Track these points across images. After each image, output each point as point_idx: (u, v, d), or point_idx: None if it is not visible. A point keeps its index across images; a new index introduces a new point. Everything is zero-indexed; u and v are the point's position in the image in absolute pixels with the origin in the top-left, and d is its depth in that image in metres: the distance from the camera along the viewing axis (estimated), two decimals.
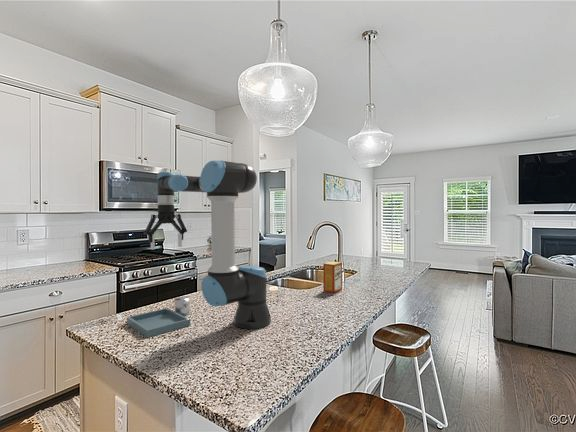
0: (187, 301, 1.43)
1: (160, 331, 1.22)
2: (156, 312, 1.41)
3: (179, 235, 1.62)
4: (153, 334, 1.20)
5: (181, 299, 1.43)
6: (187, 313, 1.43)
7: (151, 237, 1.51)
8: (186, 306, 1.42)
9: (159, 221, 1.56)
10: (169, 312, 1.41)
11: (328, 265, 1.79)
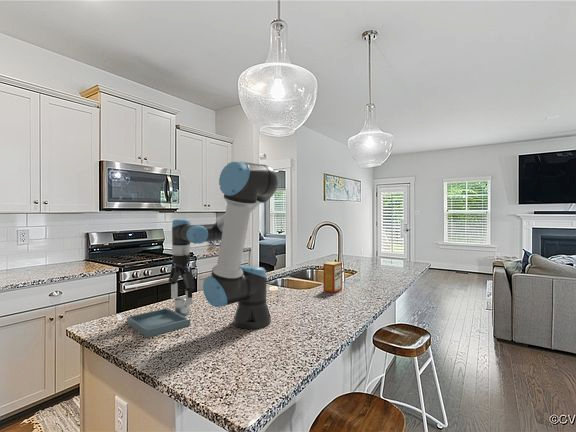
0: None
1: (160, 331, 1.22)
2: (156, 312, 1.41)
3: None
4: (153, 334, 1.20)
5: (181, 299, 1.43)
6: (187, 313, 1.43)
7: None
8: (186, 306, 1.42)
9: None
10: (169, 312, 1.41)
11: (328, 265, 1.79)
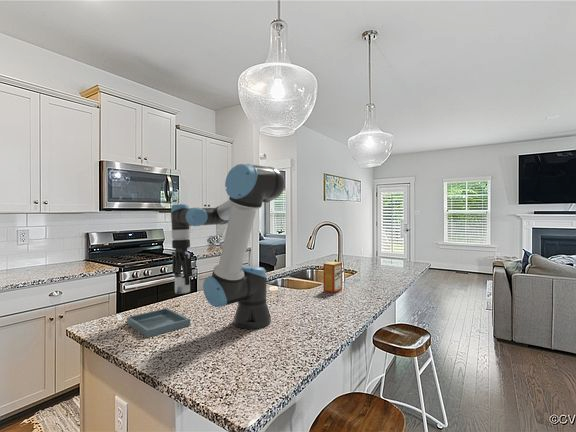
0: None
1: (160, 331, 1.22)
2: (156, 312, 1.41)
3: None
4: (153, 334, 1.20)
5: (181, 276, 1.42)
6: None
7: None
8: None
9: None
10: (169, 312, 1.41)
11: (328, 265, 1.79)
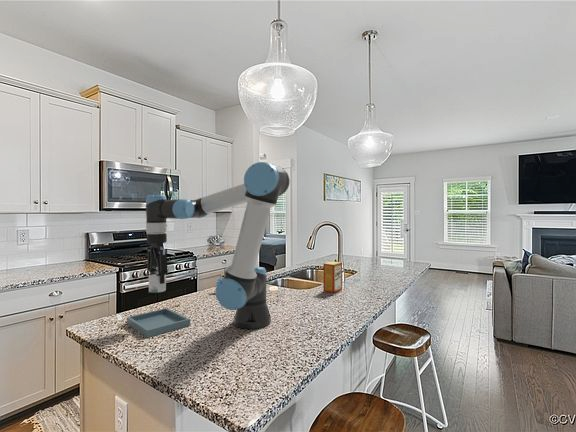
0: None
1: (160, 331, 1.22)
2: (156, 312, 1.41)
3: None
4: (153, 334, 1.20)
5: (156, 274, 1.30)
6: None
7: None
8: None
9: None
10: (169, 312, 1.41)
11: (328, 265, 1.79)
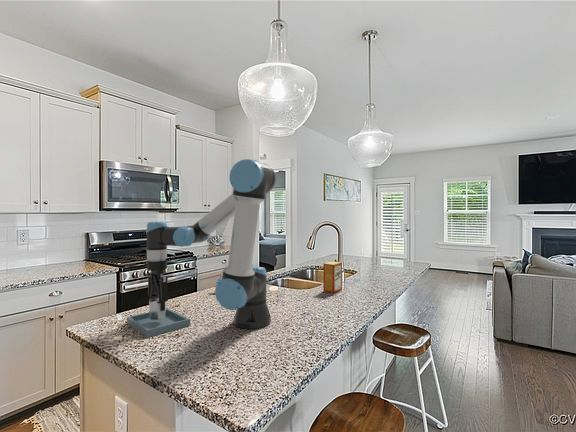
0: None
1: (160, 331, 1.22)
2: None
3: None
4: (153, 334, 1.20)
5: (156, 300, 1.30)
6: None
7: None
8: None
9: None
10: (169, 312, 1.41)
11: (328, 265, 1.79)
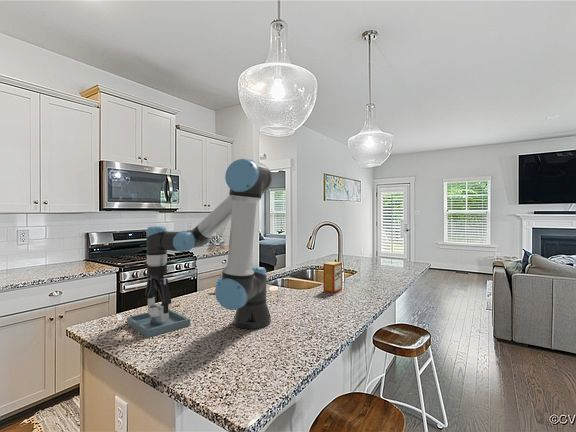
0: None
1: (160, 331, 1.22)
2: None
3: None
4: (153, 334, 1.20)
5: (157, 306, 1.30)
6: (163, 322, 1.30)
7: None
8: None
9: None
10: (169, 312, 1.41)
11: (328, 265, 1.79)
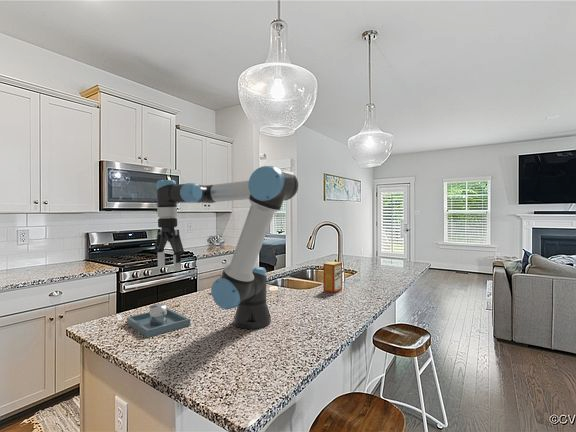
0: (163, 309, 1.30)
1: (160, 331, 1.22)
2: None
3: None
4: (153, 334, 1.20)
5: (157, 306, 1.30)
6: (163, 322, 1.30)
7: (158, 254, 1.38)
8: (162, 314, 1.29)
9: None
10: (169, 312, 1.41)
11: (328, 265, 1.79)
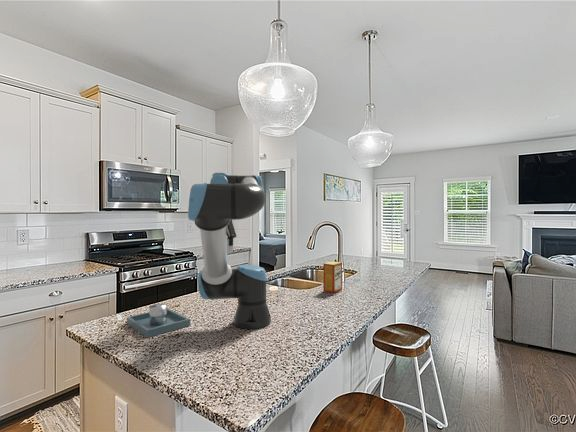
0: (163, 308, 1.30)
1: (160, 331, 1.22)
2: None
3: None
4: (153, 334, 1.20)
5: (156, 306, 1.30)
6: (163, 322, 1.30)
7: None
8: (161, 314, 1.29)
9: None
10: (169, 312, 1.41)
11: (328, 265, 1.79)
